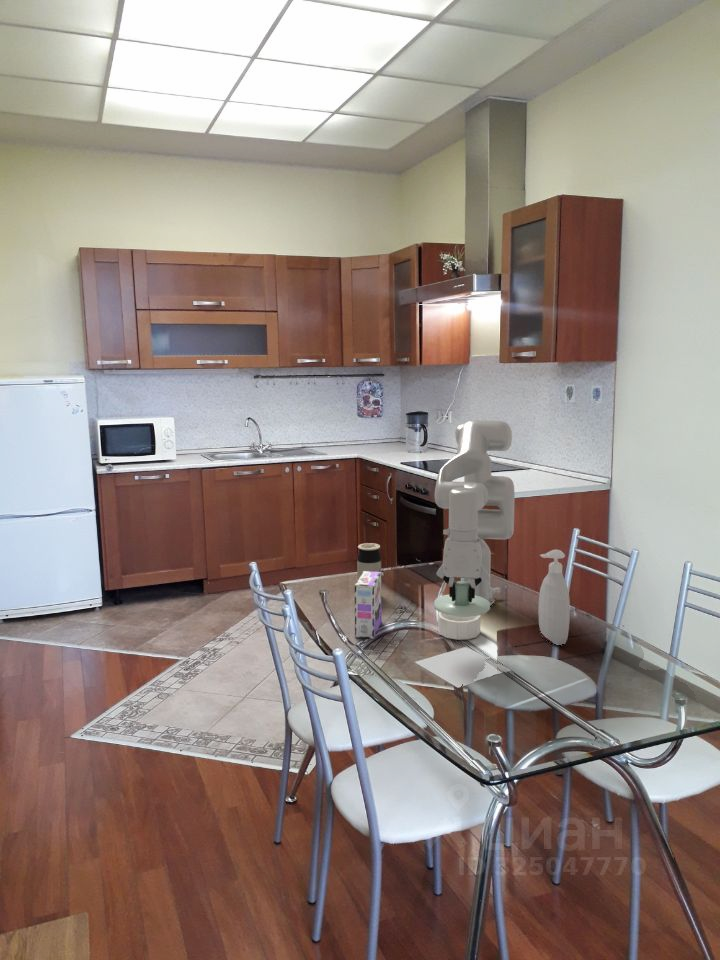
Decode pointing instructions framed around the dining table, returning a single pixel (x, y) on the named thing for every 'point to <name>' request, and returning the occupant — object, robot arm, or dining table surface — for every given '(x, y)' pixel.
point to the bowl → (458, 626)
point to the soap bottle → (554, 601)
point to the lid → (462, 602)
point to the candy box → (368, 604)
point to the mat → (457, 666)
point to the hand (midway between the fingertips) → (462, 599)
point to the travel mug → (368, 558)
